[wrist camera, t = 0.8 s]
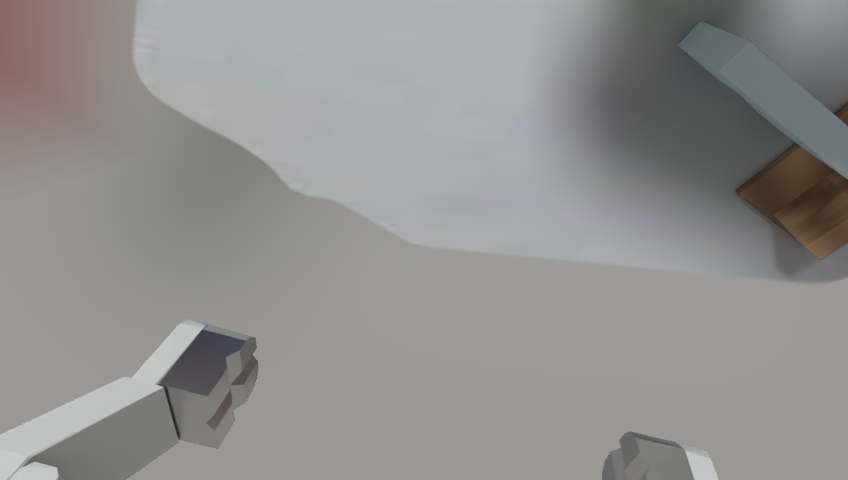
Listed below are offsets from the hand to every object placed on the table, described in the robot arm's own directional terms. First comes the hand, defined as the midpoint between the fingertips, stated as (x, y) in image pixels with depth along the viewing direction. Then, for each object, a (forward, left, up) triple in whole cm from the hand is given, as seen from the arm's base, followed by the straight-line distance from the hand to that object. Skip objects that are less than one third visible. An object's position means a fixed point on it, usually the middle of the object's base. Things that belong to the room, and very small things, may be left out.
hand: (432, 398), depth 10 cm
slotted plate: (-10, +20, -40) cm, 46 cm away
